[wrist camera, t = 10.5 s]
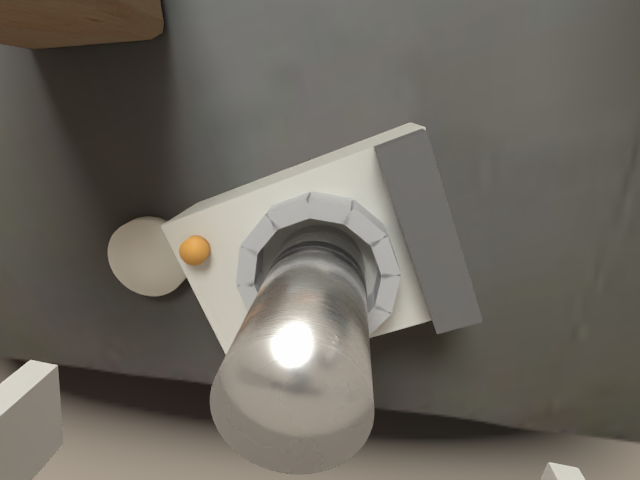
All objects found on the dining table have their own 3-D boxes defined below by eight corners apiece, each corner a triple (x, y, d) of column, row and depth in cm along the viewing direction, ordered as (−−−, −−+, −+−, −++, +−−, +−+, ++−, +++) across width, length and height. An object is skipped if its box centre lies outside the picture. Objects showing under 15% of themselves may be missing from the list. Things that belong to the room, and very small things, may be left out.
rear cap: (171, 204, 30) (163, 209, 29) (207, 274, 32) (200, 282, 31) (104, 230, 32) (92, 236, 30) (141, 297, 33) (132, 305, 32)
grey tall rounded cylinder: (282, 216, 23) (215, 323, 12) (372, 233, 23) (391, 355, 12) (271, 298, 25) (203, 458, 14) (355, 313, 25) (357, 487, 14)
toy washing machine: (410, 122, 27) (432, 129, 19) (454, 268, 30) (488, 324, 22) (197, 202, 30) (144, 236, 22) (256, 328, 33) (227, 396, 25)
